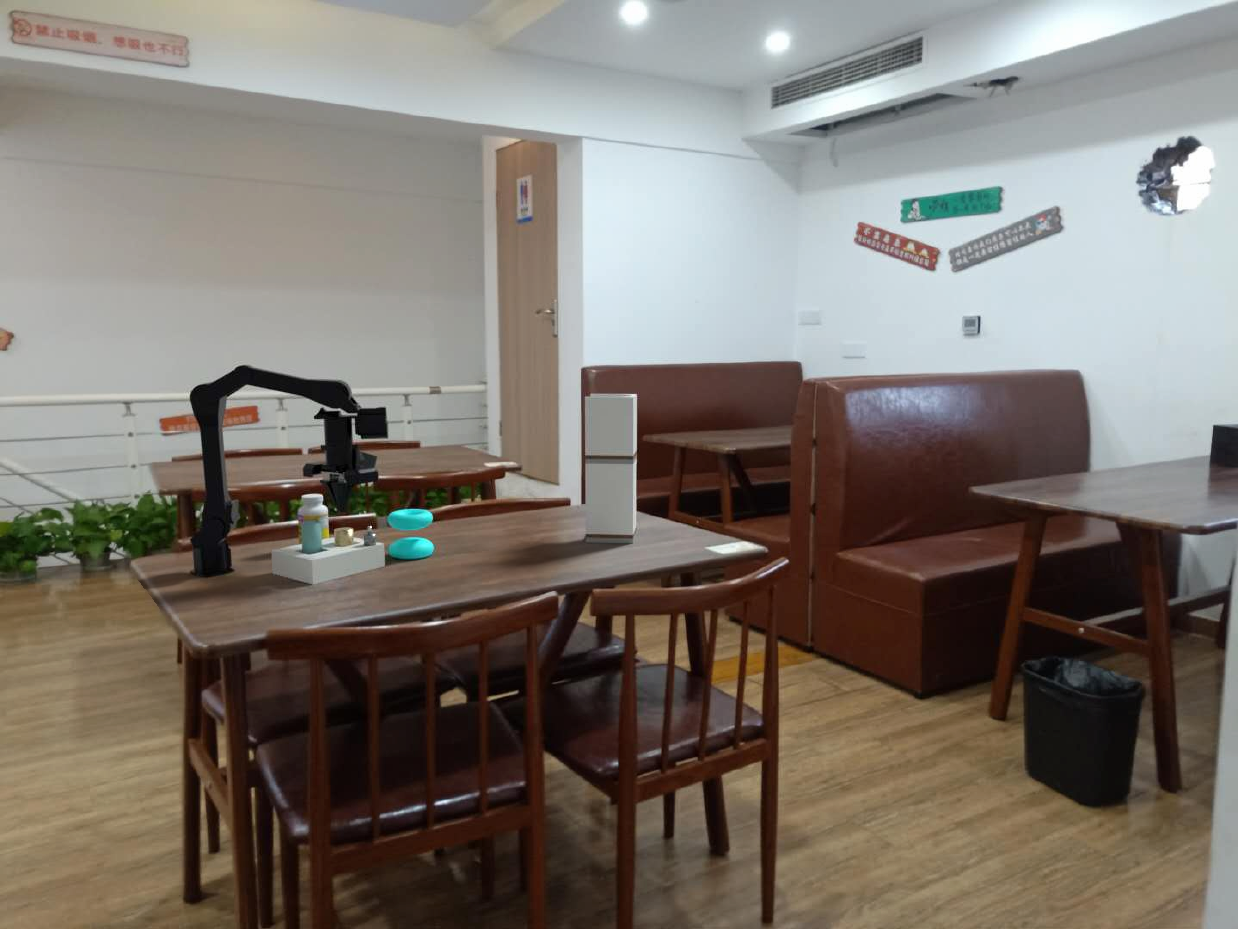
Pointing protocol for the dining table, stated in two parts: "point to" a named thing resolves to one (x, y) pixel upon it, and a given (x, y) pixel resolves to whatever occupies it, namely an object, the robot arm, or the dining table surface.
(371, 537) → the potentiometer
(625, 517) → the toy refrigerator
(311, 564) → the mount
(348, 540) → the brass knob
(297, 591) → the dining table surface
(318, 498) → the supplement bottle
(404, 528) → the donuts
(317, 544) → the teal cylinder
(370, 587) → the dining table surface
